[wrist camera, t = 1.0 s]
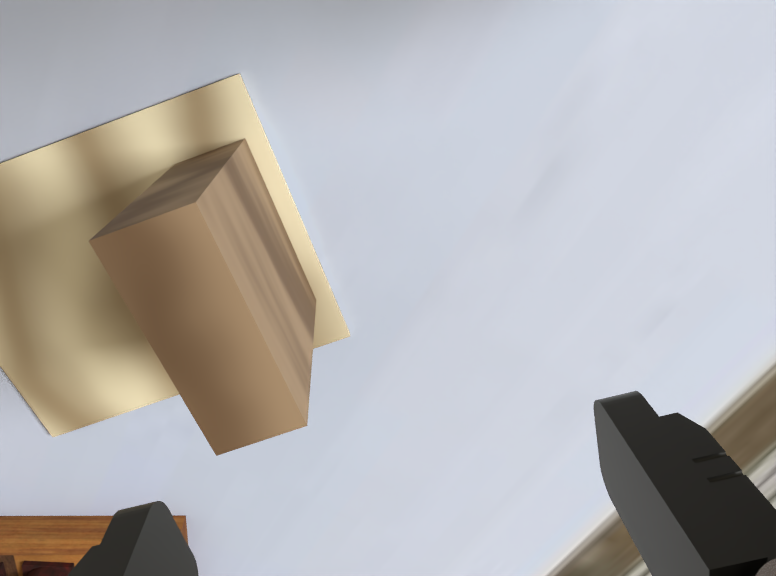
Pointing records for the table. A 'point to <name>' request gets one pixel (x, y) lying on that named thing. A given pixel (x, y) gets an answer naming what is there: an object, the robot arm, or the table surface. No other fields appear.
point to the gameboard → (52, 542)
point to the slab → (218, 295)
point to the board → (84, 269)
